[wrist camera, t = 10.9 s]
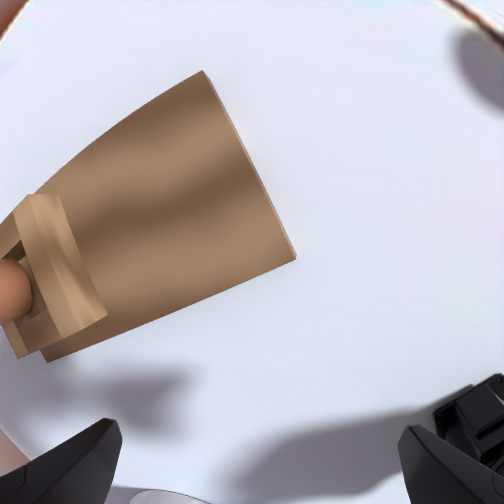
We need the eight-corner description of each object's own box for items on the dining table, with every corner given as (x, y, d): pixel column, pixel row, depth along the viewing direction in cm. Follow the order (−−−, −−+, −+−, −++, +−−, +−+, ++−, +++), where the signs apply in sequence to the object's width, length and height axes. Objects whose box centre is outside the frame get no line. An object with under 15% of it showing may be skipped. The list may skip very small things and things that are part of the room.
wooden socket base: (296, 255, 18) (293, 271, 13) (57, 356, 22) (24, 377, 18) (209, 79, 17) (183, 48, 13) (6, 233, 22) (-31, 239, 17)
